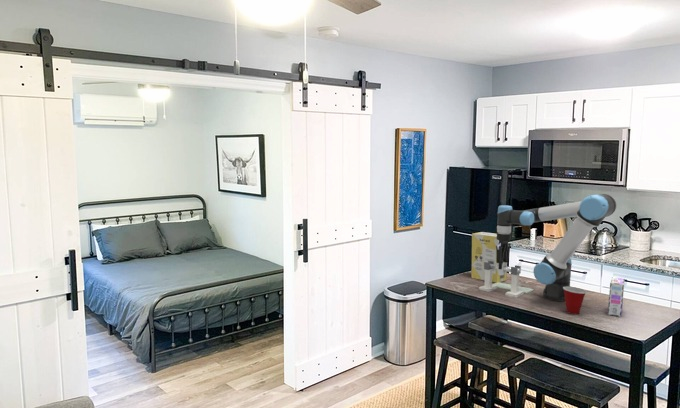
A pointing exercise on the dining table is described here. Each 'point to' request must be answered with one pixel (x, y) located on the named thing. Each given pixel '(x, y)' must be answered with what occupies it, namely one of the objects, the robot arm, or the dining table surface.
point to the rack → (490, 287)
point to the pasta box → (485, 255)
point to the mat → (508, 287)
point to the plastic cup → (573, 299)
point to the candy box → (616, 296)
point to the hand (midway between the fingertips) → (502, 274)
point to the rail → (504, 268)
